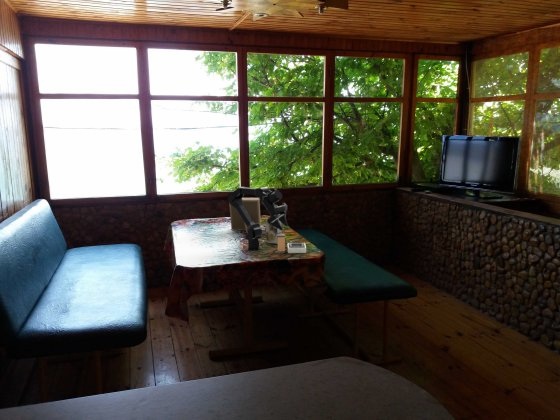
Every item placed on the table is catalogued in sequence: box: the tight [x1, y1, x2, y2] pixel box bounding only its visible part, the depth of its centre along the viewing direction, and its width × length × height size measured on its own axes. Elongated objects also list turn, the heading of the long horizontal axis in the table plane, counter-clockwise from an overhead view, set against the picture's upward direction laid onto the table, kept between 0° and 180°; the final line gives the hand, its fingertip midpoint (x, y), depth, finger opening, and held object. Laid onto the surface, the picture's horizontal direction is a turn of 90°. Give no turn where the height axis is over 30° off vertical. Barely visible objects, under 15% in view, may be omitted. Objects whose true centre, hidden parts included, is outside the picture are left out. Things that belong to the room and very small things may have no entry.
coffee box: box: [265, 218, 283, 245], centre depth 278 cm, size 9×6×16 cm
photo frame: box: [228, 197, 262, 234], centre depth 310 cm, size 15×22×25 cm
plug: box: [277, 233, 286, 252], centre depth 259 cm, size 5×5×10 cm
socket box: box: [287, 242, 307, 254], centre depth 260 cm, size 11×12×4 cm
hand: (284, 228), depth 252 cm, fingers open, 9 cm apart
